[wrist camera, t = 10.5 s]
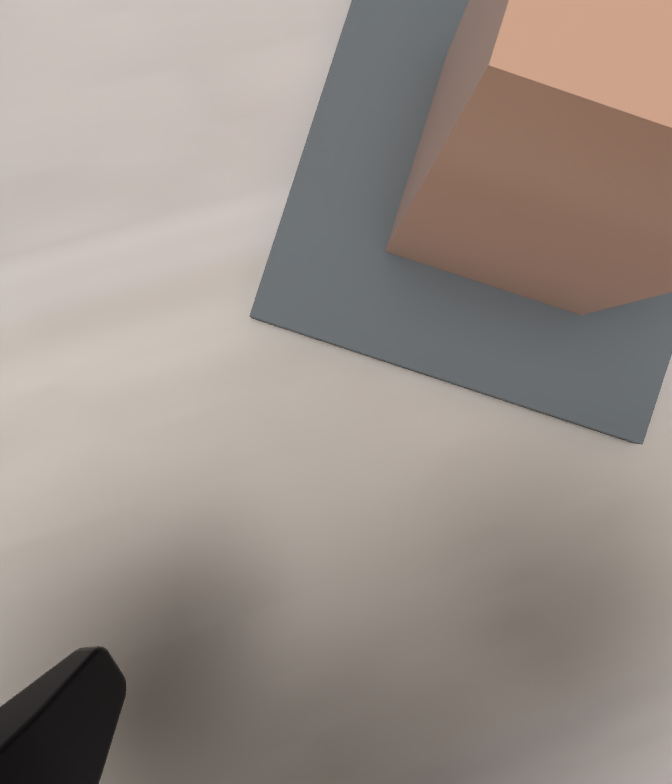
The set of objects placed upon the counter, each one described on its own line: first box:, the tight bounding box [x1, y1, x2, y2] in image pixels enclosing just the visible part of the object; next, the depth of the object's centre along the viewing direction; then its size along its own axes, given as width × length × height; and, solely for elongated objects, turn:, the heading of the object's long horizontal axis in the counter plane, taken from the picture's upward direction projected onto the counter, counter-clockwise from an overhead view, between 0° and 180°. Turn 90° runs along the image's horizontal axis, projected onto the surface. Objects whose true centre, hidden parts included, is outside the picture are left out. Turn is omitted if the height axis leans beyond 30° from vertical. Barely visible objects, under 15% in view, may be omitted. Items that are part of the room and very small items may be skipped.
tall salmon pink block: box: [385, 0, 672, 315], centre depth 12 cm, size 6×6×10 cm
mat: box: [250, 0, 672, 444], centre depth 18 cm, size 12×12×1 cm
